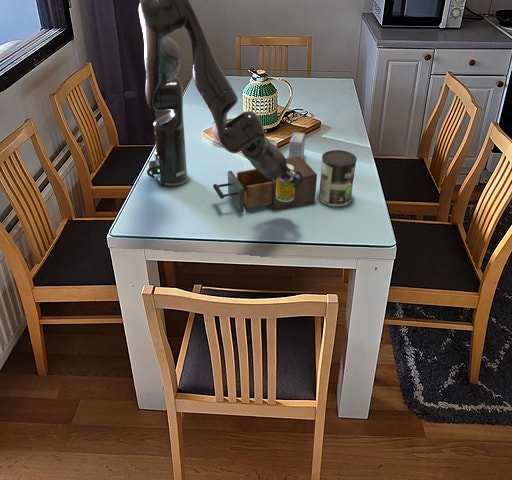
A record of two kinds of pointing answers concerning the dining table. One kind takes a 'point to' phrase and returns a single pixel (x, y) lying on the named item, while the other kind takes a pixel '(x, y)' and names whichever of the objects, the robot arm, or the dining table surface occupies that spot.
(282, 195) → the supplement bottle
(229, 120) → the decorative fruit
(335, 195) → the coffee can
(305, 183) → the cabinet
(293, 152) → the medicine box
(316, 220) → the dining table surface
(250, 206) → the drawer
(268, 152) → the robot arm
